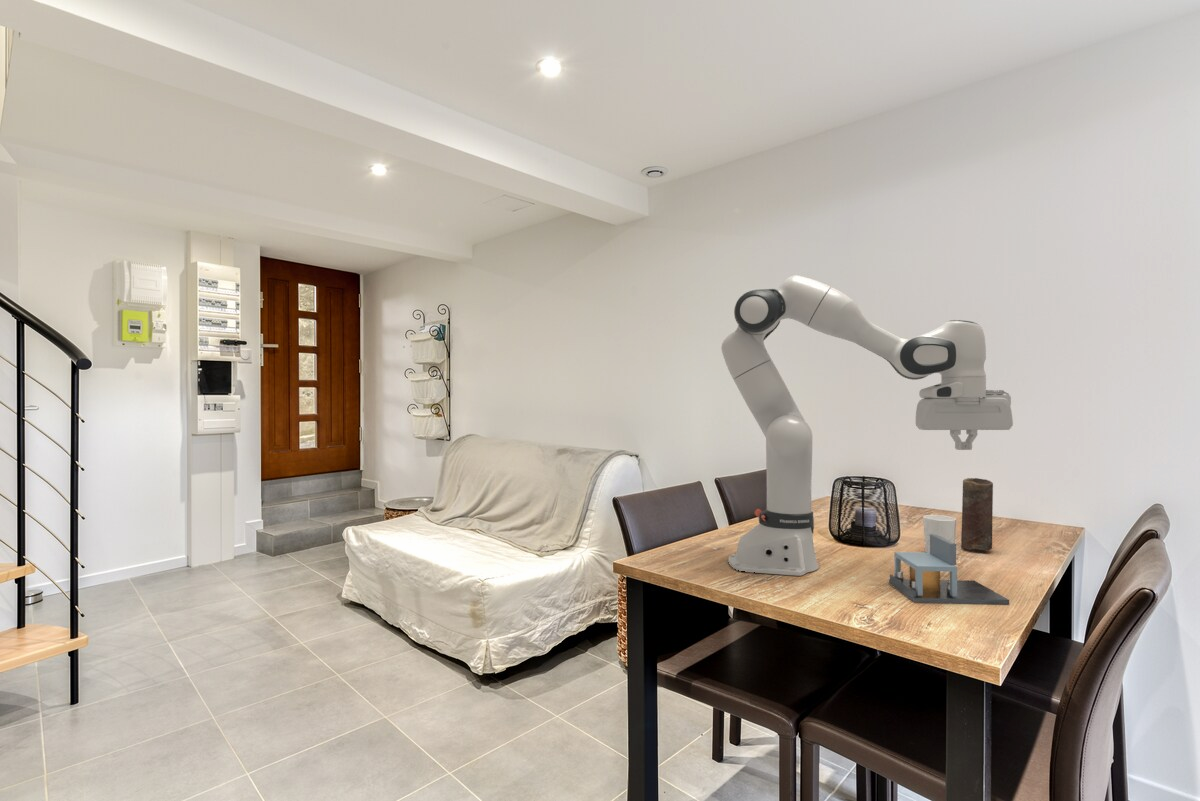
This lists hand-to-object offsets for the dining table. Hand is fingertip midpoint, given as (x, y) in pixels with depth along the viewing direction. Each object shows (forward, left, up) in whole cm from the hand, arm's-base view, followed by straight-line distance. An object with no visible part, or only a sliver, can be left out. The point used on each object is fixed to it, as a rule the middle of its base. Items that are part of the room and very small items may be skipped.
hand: (963, 449), depth 136 cm
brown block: (-12, -8, -30) cm, 33 cm away
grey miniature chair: (-12, -8, -30) cm, 33 cm away
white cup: (+7, +26, -31) cm, 41 cm away
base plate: (-8, -8, -31) cm, 33 cm away
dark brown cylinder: (+19, +30, -31) cm, 47 cm away
